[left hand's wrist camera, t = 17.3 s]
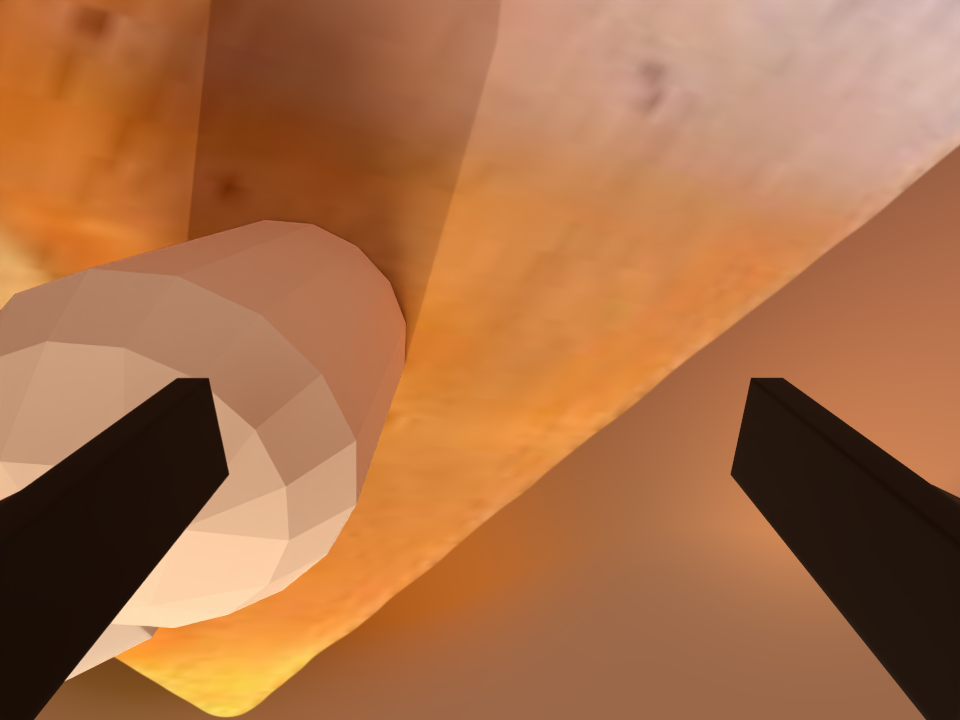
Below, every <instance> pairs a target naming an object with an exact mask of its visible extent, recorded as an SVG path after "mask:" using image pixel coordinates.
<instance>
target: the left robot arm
mask: <svg viewBox="0 0 960 720" xmlns="http://www.w3.org/2000/svg"><path fill="white" fill-rule="evenodd" d="M228 476H229V470H228V466H227V461H226V456H225V451H224V447H223V442H222V437H221V433H220V428H219V423H218V419H217V414H216V409H215V404H214V400H213V395H212V390H211V386H210V381H209V378H176V379H175V380H174V381H172V382H171V383H169V384H168V385H167V386H165V387H164V388H162V389H161V390H160V391H158V392H157V393H155V394H154V395H153V396H151V397H150V398H149V399H147V400H146V401H144V402H143V403H142V404H140V405H139V406H137V407H136V408H135V409H133V410H132V411H130V412H129V413H128V414H126V415H125V416H123V417H122V418H121V419H119V420H118V421H117V422H115V423H114V424H112V425H111V426H110V427H108V428H107V429H105V430H104V431H103V432H101V433H100V434H98V435H97V436H96V437H94V438H93V439H91V440H90V441H89V442H87V443H86V444H85V445H83V446H82V447H80V448H79V449H78V450H76V451H75V452H73V453H72V454H71V455H69V456H68V457H66V458H65V459H64V460H62V461H61V462H59V463H58V464H57V465H55V466H54V467H52V468H51V469H50V470H48V471H47V472H46V473H44V474H43V475H41V476H40V477H39V478H37V479H36V480H34V481H33V482H32V483H30V484H29V485H27V486H26V487H25V488H23V489H22V490H20V491H18V492H16V493H14V494H12V495H10V496H8V497H6V498H4V499H2V500H0V720H34V719H35V718H36V716H37V715H38V714H39V713H40V711H41V710H42V709H43V708H44V706H45V705H46V704H47V703H48V701H49V700H50V699H51V698H52V696H53V695H54V694H55V693H56V691H57V690H58V689H59V687H60V686H61V685H62V684H63V683H64V681H65V680H66V679H67V678H68V676H69V675H70V674H71V672H72V671H73V670H74V669H75V667H76V666H77V665H78V664H79V662H80V661H81V660H82V659H83V657H84V656H85V655H86V654H87V652H88V651H89V650H90V649H91V647H92V646H93V645H94V644H95V642H96V641H97V640H98V639H99V637H100V636H101V635H102V634H103V632H104V631H105V630H106V629H107V627H108V626H109V625H110V624H111V622H112V621H113V620H114V619H115V617H116V616H117V615H118V614H119V612H120V611H121V610H122V609H123V607H124V606H125V605H126V604H127V602H128V601H129V600H130V599H131V597H132V596H133V595H134V594H135V592H136V591H137V590H138V588H139V587H140V586H141V585H142V583H143V582H144V581H145V580H146V578H147V577H148V576H149V575H150V573H151V572H152V571H153V570H154V568H155V567H156V566H157V565H158V563H159V562H160V561H161V560H162V558H163V557H164V556H165V555H166V553H167V552H168V551H169V550H170V548H171V547H172V546H173V545H174V543H175V542H176V541H177V540H178V538H179V537H180V536H181V535H182V533H183V532H184V531H185V530H186V528H187V527H188V526H189V525H190V523H191V522H192V521H193V520H194V518H195V517H196V516H197V515H198V513H199V512H200V511H201V509H202V508H203V507H204V506H205V504H206V503H207V502H208V501H209V499H210V498H211V497H212V496H213V494H214V493H215V492H216V491H217V489H218V488H219V487H220V486H221V484H222V483H223V482H224V481H225V479H226V478H227V477H228ZM731 476H732V477H733V478H734V479H735V481H736V482H737V483H738V484H739V486H740V487H741V488H742V489H743V491H744V492H745V493H746V494H747V496H748V497H749V498H750V499H751V501H752V502H753V503H754V504H755V506H756V507H757V508H758V509H759V511H760V512H761V513H762V515H763V516H764V517H765V518H766V520H767V521H768V522H769V523H770V525H771V526H772V527H773V528H774V530H775V531H776V532H777V533H778V535H779V536H780V537H781V538H782V540H783V541H784V542H785V543H786V545H787V546H788V547H789V548H790V550H791V551H792V552H793V553H794V555H795V556H796V557H797V558H798V560H799V561H800V562H801V563H802V565H803V566H804V567H805V568H806V570H807V571H808V572H809V573H810V575H811V576H812V577H813V578H814V580H815V581H816V582H817V583H818V585H819V586H820V587H821V588H822V590H823V591H824V592H825V593H826V595H827V596H828V597H829V598H830V600H831V601H832V602H833V603H834V605H835V606H836V607H837V608H838V610H839V611H840V612H841V614H842V615H843V616H844V617H845V619H846V620H847V621H848V622H849V624H850V625H851V626H852V627H853V629H854V630H855V631H856V632H857V634H858V635H859V636H860V637H861V639H862V640H863V641H864V642H865V644H866V645H867V646H868V647H869V649H870V650H871V651H872V652H873V654H874V655H875V656H876V657H877V659H878V660H879V661H880V662H881V664H882V665H883V666H884V667H885V669H886V670H887V671H888V672H889V674H890V675H891V676H892V678H893V679H894V680H895V681H896V683H897V684H898V685H899V686H900V688H901V689H902V690H903V691H904V692H905V694H906V695H907V696H908V698H909V699H910V700H911V701H912V703H913V704H914V705H915V706H916V708H917V709H918V710H919V711H920V713H921V714H922V715H923V716H924V718H925V719H926V720H960V498H959V497H957V496H955V495H952V494H950V493H948V492H946V491H944V490H942V489H940V488H938V487H936V486H934V485H931V484H930V483H928V482H927V481H926V480H924V479H923V478H921V477H920V476H919V475H917V474H916V473H914V472H913V471H912V470H910V469H909V468H908V467H906V466H905V465H903V464H902V463H901V462H899V461H898V460H896V459H895V458H893V457H892V456H891V455H889V454H888V453H887V452H885V451H884V450H882V449H881V448H880V447H878V446H877V445H875V444H874V443H873V442H871V441H870V440H869V439H867V438H866V437H864V436H863V435H862V434H860V433H859V432H857V431H856V430H855V429H853V428H852V427H850V426H849V425H848V424H846V423H845V422H843V421H842V420H841V419H839V418H838V417H837V416H835V415H834V414H832V413H831V412H830V411H828V410H827V409H825V408H824V407H823V406H821V405H820V404H818V403H817V402H816V401H814V400H813V399H811V398H810V397H809V396H807V395H806V394H805V393H803V392H802V391H800V390H799V389H798V388H796V387H795V386H793V385H792V384H791V383H789V382H788V381H786V380H785V379H784V378H751V381H750V386H749V390H748V395H747V400H746V404H745V409H744V414H743V419H742V423H741V428H740V433H739V437H738V442H737V447H736V451H735V456H734V461H733V466H732V470H731Z"/></svg>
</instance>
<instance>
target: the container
mask: <svg viewBox="0 0 960 720" xmlns="http://www.w3.org/2000/svg"><path fill="white" fill-rule="evenodd" d="M405 339H406V322H405V320H404V317H403V315H402V312H401V309H400V307H399V304H398V302H397V299H396V296H395V294H394V291H393V289H392V286H391V283H390V282H389V280H388V279H387V278H386V277H385V276H384V275H383V274H382V273H381V272H380V271H379V270H378V268H377V267H376V266H375V265H374V264H373V263H372V262H371V261H370V260H369V259H368V257H367V256H366V255H365V254H364V253H363V252H362V251H361V250H360V249H359V248H358V247H357V246H355V245H353V244H352V243H350V242H348V241H346V240H344V239H342V238H340V237H338V236H336V235H334V234H332V233H330V232H328V231H326V230H324V229H322V228H320V227H318V226H316V225H314V224H306V223H295V222H284V221H272V220H262V221H259V222H255V223H252V224H248V225H244V226H241V227H237V228H234V229H230V230H226V231H223V232H219V233H216V234H212V235H208V236H205V237H201V238H197V239H194V240H190V241H187V242H183V243H179V244H176V245H172V246H169V247H165V248H161V249H158V250H154V251H150V252H147V253H143V254H140V255H136V256H132V257H129V258H125V259H122V260H118V261H114V262H111V263H107V264H104V265H100V266H96V267H93V268H89V269H86V270H83V271H80V272H77V273H75V274H72V275H69V276H66V277H63V278H60V279H57V280H54V281H51V282H48V283H46V284H43V285H40V286H37V287H34V288H31V289H28V290H25V291H22V292H19V293H17V294H15V295H14V296H13V297H12V298H11V299H10V300H9V301H8V303H7V304H6V305H5V306H4V307H3V308H2V309H1V310H0V500H2V499H4V498H6V497H8V496H10V495H12V494H14V493H16V492H18V491H20V490H22V489H23V488H25V487H26V486H27V485H29V484H30V483H32V482H33V481H34V480H36V479H37V478H39V477H40V476H41V475H43V474H44V473H46V472H47V471H48V470H50V469H51V468H52V467H54V466H55V465H57V464H58V463H59V462H61V461H62V460H64V459H65V458H66V457H68V456H69V455H71V454H72V453H73V452H75V451H76V450H78V449H79V448H80V447H82V446H83V445H85V444H86V443H87V442H89V441H90V440H91V439H93V438H94V437H96V436H97V435H98V434H100V433H101V432H103V431H104V430H105V429H107V428H108V427H110V426H111V425H112V424H114V423H115V422H117V421H118V420H119V419H121V418H122V417H123V416H125V415H126V414H128V413H129V412H130V411H132V410H133V409H135V408H136V407H137V406H139V405H140V404H142V403H143V402H144V401H146V400H147V399H149V398H150V397H151V396H153V395H154V394H155V393H157V392H158V391H160V390H161V389H162V388H164V387H165V386H167V385H168V384H169V383H171V382H172V381H174V380H175V379H176V378H209V381H210V386H211V390H212V395H213V400H214V404H215V409H216V414H217V419H218V423H219V428H220V433H221V437H222V442H223V447H224V451H225V456H226V461H227V466H228V470H229V476H228V477H227V478H226V479H225V481H224V482H223V483H222V484H221V486H220V487H219V488H218V489H217V491H216V492H215V493H214V494H213V496H212V497H211V498H210V499H209V501H208V502H207V503H206V504H205V506H204V507H203V508H202V509H201V511H200V512H199V513H198V515H197V516H196V517H195V518H194V520H193V521H192V522H191V523H190V525H189V526H188V527H187V528H186V530H185V531H184V532H183V533H182V535H181V536H180V537H179V538H178V540H177V541H176V542H175V543H174V545H173V546H172V547H171V548H170V550H169V551H168V552H167V553H166V555H165V556H164V557H163V558H162V560H161V561H160V562H159V563H158V565H157V566H156V567H155V568H154V570H153V571H152V572H151V573H150V575H149V576H148V577H147V578H146V580H145V581H144V582H143V583H142V585H141V586H140V587H139V588H138V590H137V591H136V592H135V594H134V595H133V596H132V597H131V599H130V600H129V601H128V602H127V604H126V605H125V606H124V607H123V609H122V610H121V611H120V612H119V614H118V615H117V616H116V617H115V619H114V620H113V621H112V622H111V623H112V624H122V625H137V626H153V627H169V628H176V627H180V626H184V625H188V624H192V623H196V622H200V621H204V620H208V619H212V618H216V617H220V616H224V615H228V614H230V613H232V612H234V611H237V610H239V609H241V608H244V607H246V606H248V605H250V604H253V603H255V602H257V601H259V600H262V599H264V598H266V597H268V596H271V595H273V594H275V593H277V592H280V591H282V590H283V589H285V588H286V587H287V586H288V585H289V584H291V583H292V582H293V581H294V580H296V579H297V578H298V577H299V576H301V575H302V574H303V573H304V572H306V571H307V570H308V569H309V568H311V567H312V566H313V565H314V564H316V563H317V562H318V561H319V560H321V559H322V558H323V557H324V556H326V555H327V554H328V552H329V550H330V548H331V547H332V545H333V543H334V542H335V540H336V538H337V537H338V535H339V533H340V531H341V530H342V528H343V526H344V525H345V523H346V521H347V520H348V518H349V516H350V514H351V513H352V511H353V509H354V508H355V506H356V504H357V501H358V498H359V495H360V492H361V490H362V487H363V484H364V481H365V478H366V475H367V472H368V469H369V466H370V464H371V461H372V458H373V455H374V452H375V449H376V446H377V443H378V440H379V437H380V435H381V432H382V429H383V426H384V423H385V420H386V417H387V414H388V411H389V408H390V406H391V403H392V400H393V397H394V394H395V391H396V388H397V385H398V382H399V380H400V377H401V374H402V371H403V368H404V365H405Z"/></svg>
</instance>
